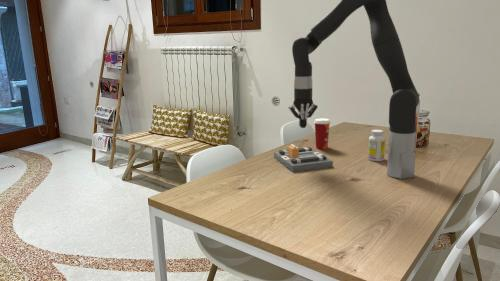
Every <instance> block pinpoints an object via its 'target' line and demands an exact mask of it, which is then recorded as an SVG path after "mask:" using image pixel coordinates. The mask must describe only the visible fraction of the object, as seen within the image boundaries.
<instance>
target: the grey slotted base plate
mask: <svg viewBox="0 0 500 281" xmlns="http://www.w3.org/2000/svg"><path fill="white" fill-rule="evenodd" d="M298 148H299V153H300V152H308V151H312V149H313V148H312V147H310V146H308V147H307V146H306V147H298ZM279 153H280V154H281V155H283V154H288V149H281V150H279ZM326 157H327V156H326V155H324V154H322V155H320V156H312V157H304V158H295V159H291V162H292V163H293V164H294V163H302V162H310V161H318V160H326Z"/></svg>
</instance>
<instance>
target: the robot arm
mask: <svg viewBox="0 0 500 281" xmlns="http://www.w3.org/2000/svg"><path fill="white" fill-rule="evenodd" d="M361 7H363V8H364V10H365V12H366V14H367V18H368V20H369V26H370V28H369V29H370V38H371V44H372V47H373V50H374V53H375V56H376V59H377V61H378V62H379V64H380V66H381V67H382V68H381V69H382V70H383V71H384V73H385V74H386V76H387V78H388V80H389V84H390V87H391V91H392V94H391V96H390V100H389V103H388V104H389V105H388V106H389V107H388V110H389V111H388V125H389V131H388V132H389V133H388V134H389V135H388V148H387V149H388V150H387V166H386V168H387V169H386V174H387V175H388V177H392V178H396V179H400V180H403V179H408V178H409V179H410V178H414V177H415V171H416V170H415V169H416V168H415V167H416V158H417V156H416V154H417V153H416V152H415V145H416V134H417V132H416V131H417V123H416V120H417V119H416V116H417V107H418V106H419V103H420V95H419V93H418V90H417V89H416V86H415V84H414V82H413V79H412V78H411V75H410V73H409V69H408V64H407V61H406V57H405V53H404V49H403V47H402V43H401V39H400V38H399V34H398V32H397V29H396V26H395V24H394V22H393V19H392V17H391V14H390V12H389V9H388V4H387V0H340V1H339V2H338V3H337V4H336V5H335V6H334V7H333V8H332V9H331V10H330V11H329V12H328V13H326V15H325V16H323V17H322V18H320V20H318V21H317V22H316V24H314V25H313V26H312V27H311V29H310V32H309V33H308V34H306V35H305V36H304V37H298V38H296V39H294V41H293V43H292V46H291V50H292V58H293V63H294V82H293V83H294V84H293V91H294V93H293V98H294V100H293V102H292V105H290V106H288V110H289V111H290V113H291V114H292V115H293V116H294V117H295V118H297V119H299V121H298V124H299V127H300V128H302V129H304V128H306V127H307V126H308V122H307V121H308V118H311V117H313V115H314V113H315V112H316V111H317V109H318V104H317V105H316V104H315V103H314V101H313V65H312V62H310V56H309V55H310V54H312V53H313V52H315V50H316V49H317V48H319V46H320V45H322V43H323V42H324V41H325V40H326V39H328V38H329V37H330V36H331V35H332V34H333V33H335V32H336V31H337V30H338V29H339V28H340V27H341V26H342V25H343V23H345V21H346V20H347V19H348V17H349V16H351V15H352V14H353V13H354V12H355V11H357V10H359V9H360V8H361ZM296 110H297V111H296Z"/></svg>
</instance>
